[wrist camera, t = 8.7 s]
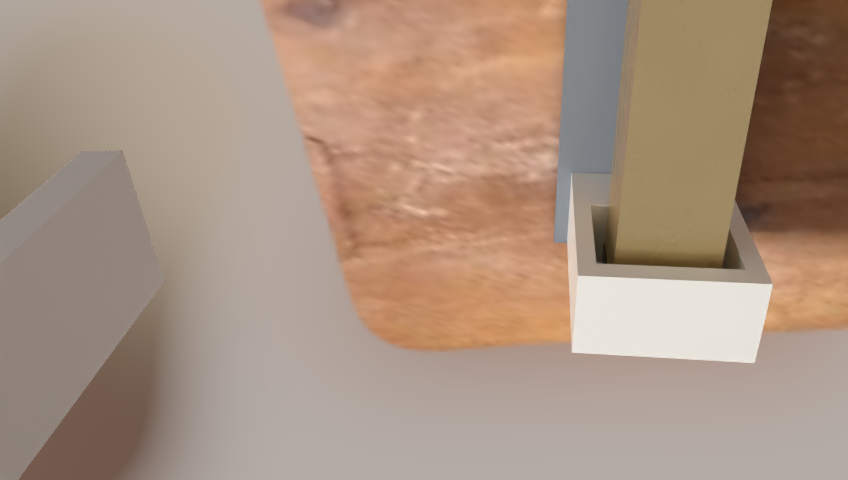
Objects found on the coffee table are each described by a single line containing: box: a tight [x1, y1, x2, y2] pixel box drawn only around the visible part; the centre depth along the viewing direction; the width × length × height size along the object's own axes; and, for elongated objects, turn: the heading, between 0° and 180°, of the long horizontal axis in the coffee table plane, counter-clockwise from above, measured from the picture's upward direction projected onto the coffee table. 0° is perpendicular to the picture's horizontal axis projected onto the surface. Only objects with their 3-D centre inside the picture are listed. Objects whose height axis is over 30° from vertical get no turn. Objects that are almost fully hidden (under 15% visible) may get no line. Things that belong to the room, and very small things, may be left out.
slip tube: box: [602, 0, 773, 269], centre depth 31 cm, size 18×4×4 cm, turn 2°
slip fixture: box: [554, 0, 773, 363], centre depth 31 cm, size 26×9×11 cm, turn 2°
